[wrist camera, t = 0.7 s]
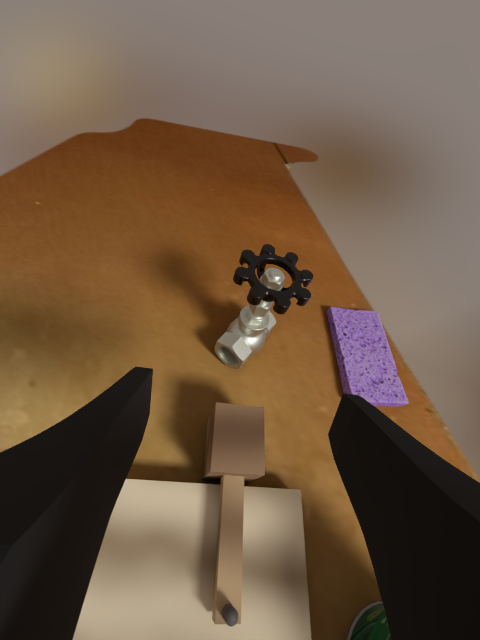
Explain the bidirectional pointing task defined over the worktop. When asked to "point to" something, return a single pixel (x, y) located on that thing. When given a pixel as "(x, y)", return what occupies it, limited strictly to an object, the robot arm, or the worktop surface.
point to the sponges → (365, 357)
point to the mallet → (232, 495)
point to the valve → (261, 303)
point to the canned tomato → (370, 624)
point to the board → (196, 566)
